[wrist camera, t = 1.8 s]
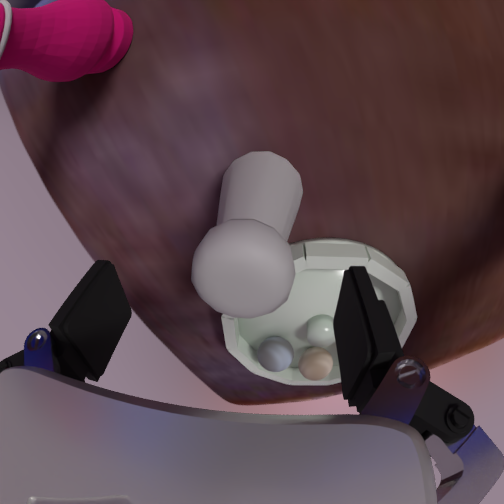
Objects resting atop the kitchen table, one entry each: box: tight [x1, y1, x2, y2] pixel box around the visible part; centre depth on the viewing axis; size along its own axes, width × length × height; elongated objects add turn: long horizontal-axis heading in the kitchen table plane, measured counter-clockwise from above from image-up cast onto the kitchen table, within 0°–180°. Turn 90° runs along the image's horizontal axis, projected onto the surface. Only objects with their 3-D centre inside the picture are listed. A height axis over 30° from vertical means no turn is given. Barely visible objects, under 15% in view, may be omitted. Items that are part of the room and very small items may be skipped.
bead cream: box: [298, 347, 333, 381], centre depth 29 cm, size 4×4×4 cm
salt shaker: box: [191, 151, 303, 318], centre depth 16 cm, size 6×6×13 cm
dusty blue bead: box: [257, 336, 294, 372], centre depth 28 cm, size 4×4×4 cm
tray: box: [221, 238, 417, 385], centre depth 28 cm, size 20×20×3 cm
